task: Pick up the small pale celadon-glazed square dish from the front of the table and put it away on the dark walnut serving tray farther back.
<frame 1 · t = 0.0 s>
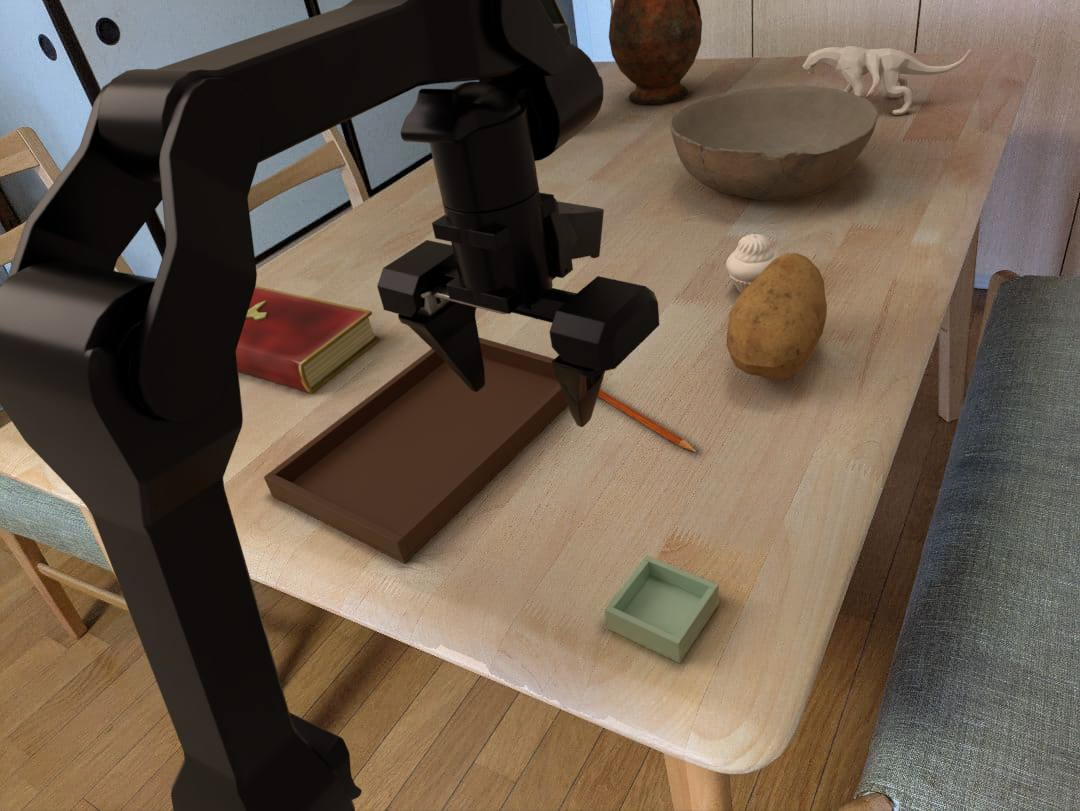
hand: (529, 405, 58), 16 cm above the table, tool pointing down, fingers open, 9 cm apart
bowl: (769, 182, 121), on the table
potato: (775, 361, 85), on the table
pencil: (629, 415, 82), on the table, touching tray
beer bottle: (553, 132, 151), on the table
book: (283, 350, 101), on the table
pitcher: (669, 97, 158), on the table
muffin: (753, 291, 97), on the table
tray: (436, 439, 83), on the table
white dinosaur figurine: (879, 107, 138), on the table
celadon dish: (663, 616, 62), on the table
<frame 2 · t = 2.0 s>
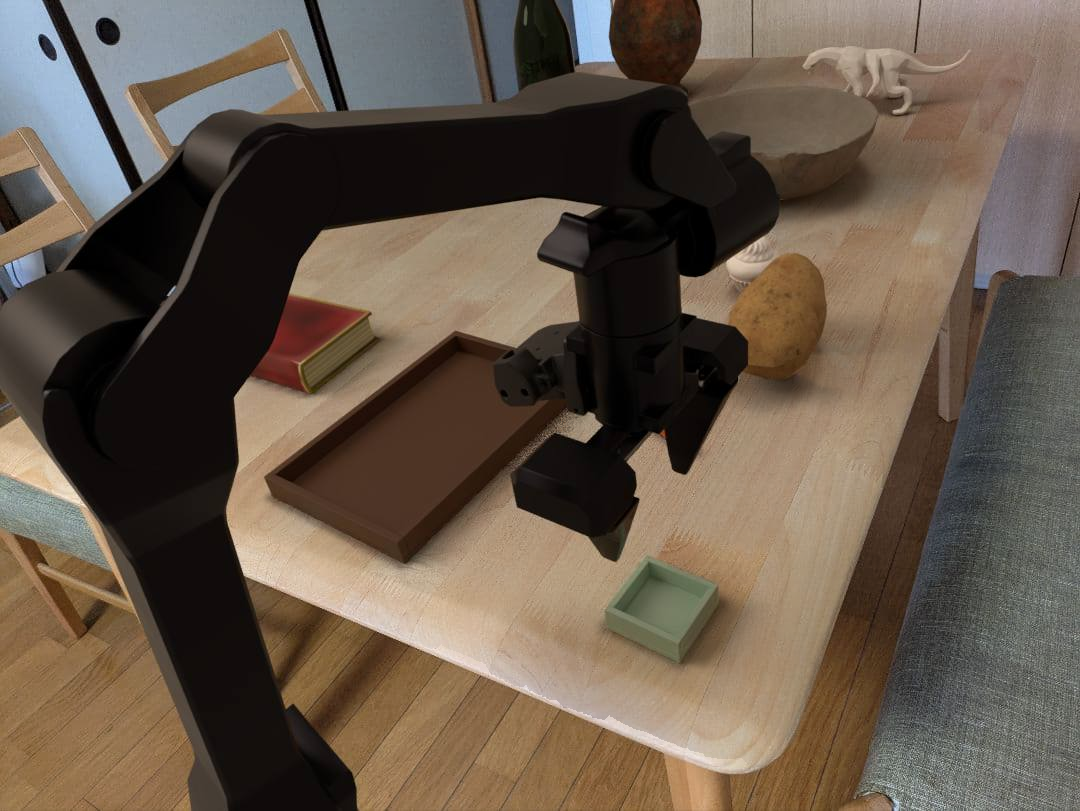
hand: (647, 513, 56), 10 cm above the table, tool pointing down, fingers open, 9 cm apart
pencil: (629, 415, 82), on the table
everything else where it was.
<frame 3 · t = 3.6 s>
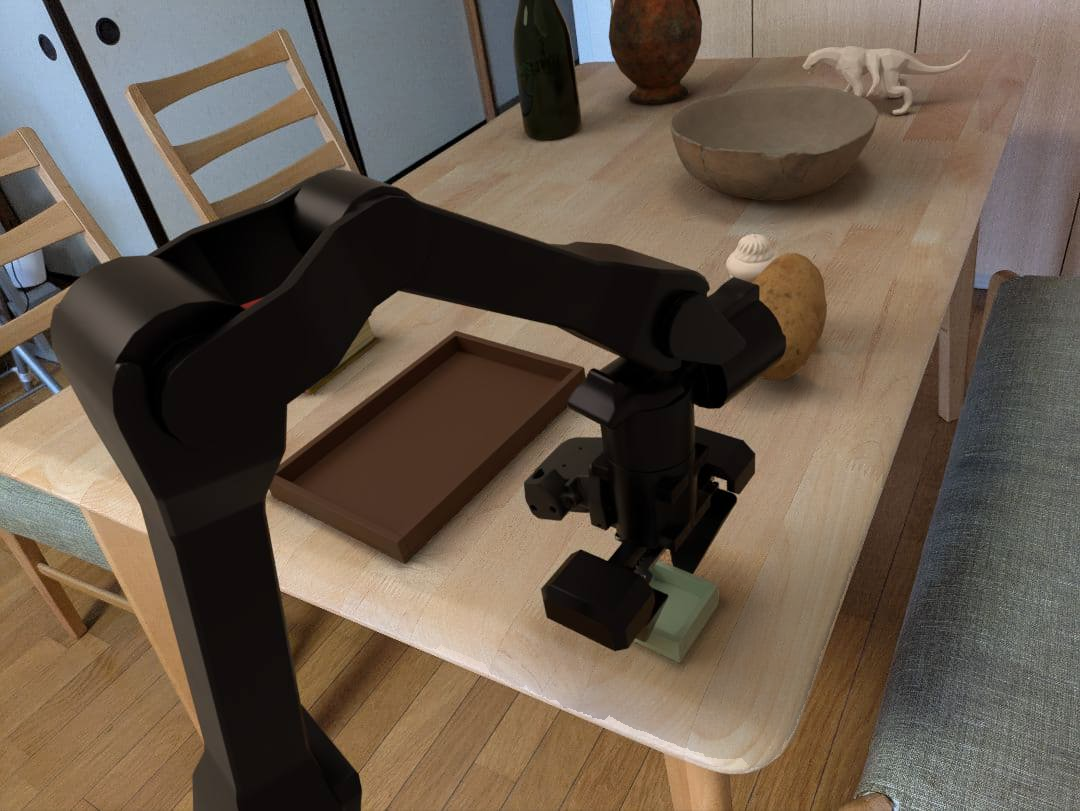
hand: (662, 607, 61), 1 cm above the table, tool pointing down, fingers closed on celadon dish, 6 cm apart
pencil: (629, 415, 82), on the table, touching tray
celadon dish: (663, 616, 62), on the table, touching gripper
everything else where it was.
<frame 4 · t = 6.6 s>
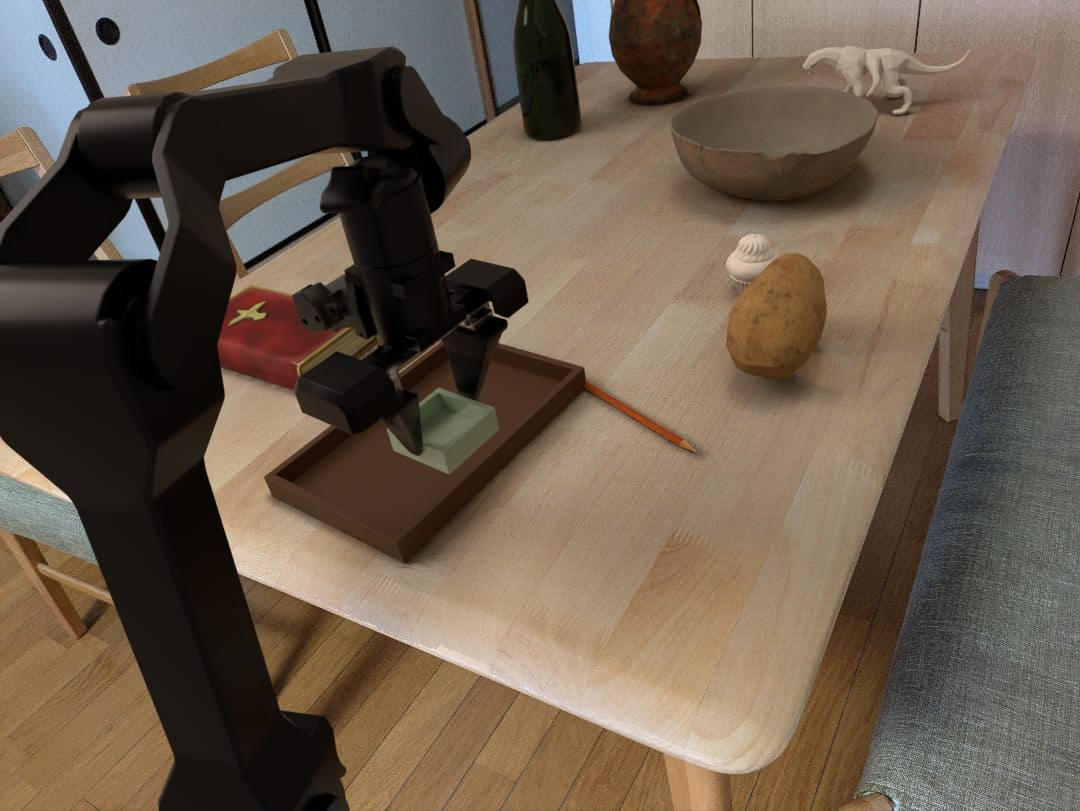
hand: (443, 429, 65), 11 cm above the table, tool pointing down, fingers closed on celadon dish, 6 cm apart
celadon dish: (446, 440, 66), point 10 cm above the table, touching gripper
everything else where it was.
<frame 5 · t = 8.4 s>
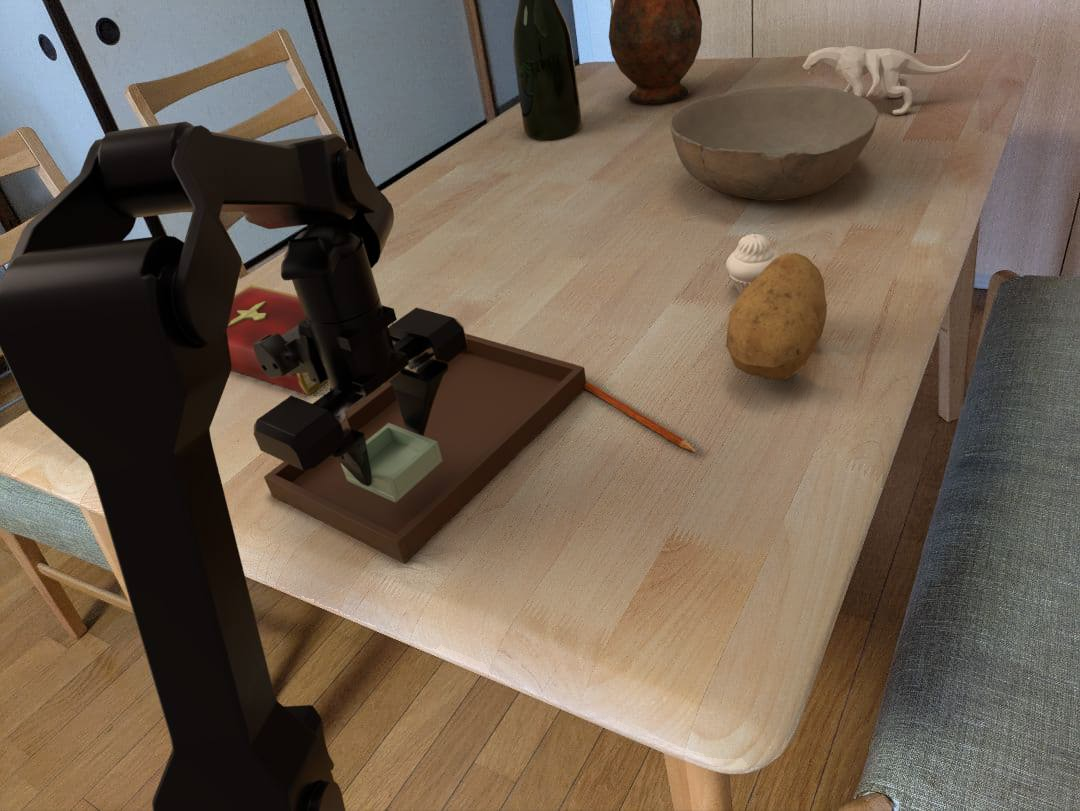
hand: (392, 461, 72), 5 cm above the table, tool pointing down, fingers closed on celadon dish, 6 cm apart
celadon dish: (395, 470, 73), point 4 cm above the table, touching gripper
everything else where it was.
when the fingers open (2 cm above the table, at t = 9.9 s): celadon dish stays where it is, resting on tray.
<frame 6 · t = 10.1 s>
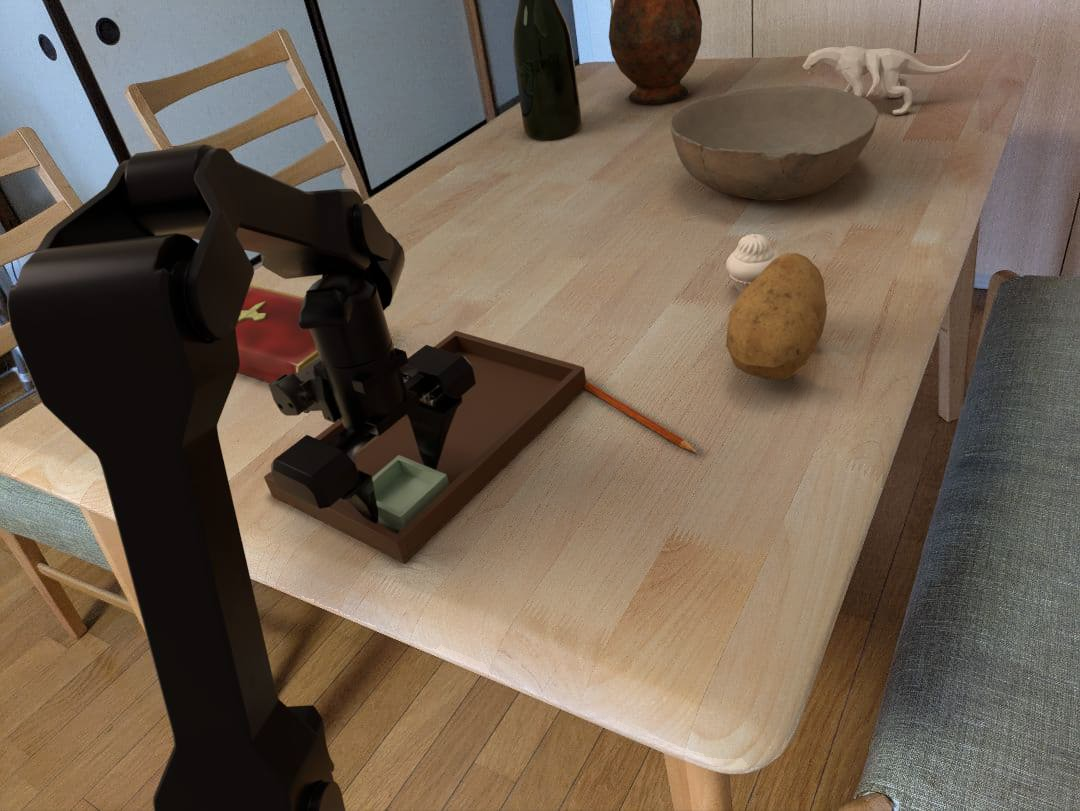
hand: (402, 494, 75), 1 cm above the table, tool pointing down, fingers open, 7 cm apart
pencil: (630, 416, 82), on the table
celadon dish: (405, 502, 75), resting on tray
everything else where it was.
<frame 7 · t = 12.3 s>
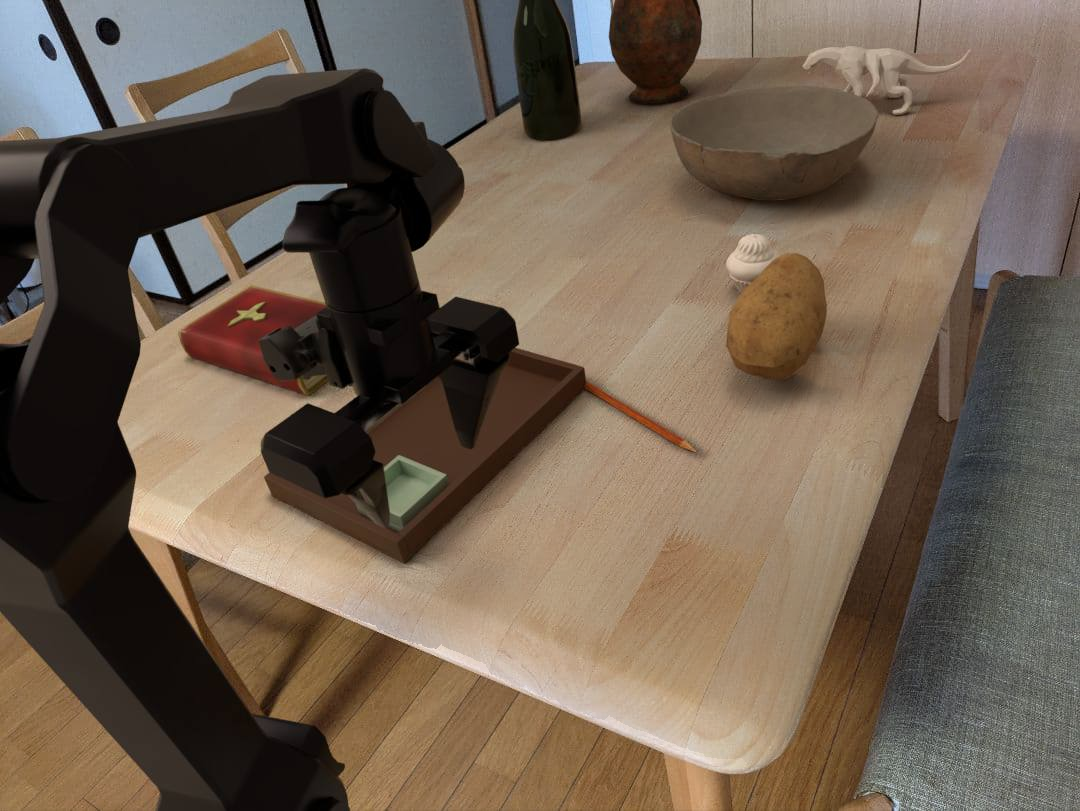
hand: (427, 483, 59), 12 cm above the table, tool pointing down, fingers open, 9 cm apart
nothing on the table moved.
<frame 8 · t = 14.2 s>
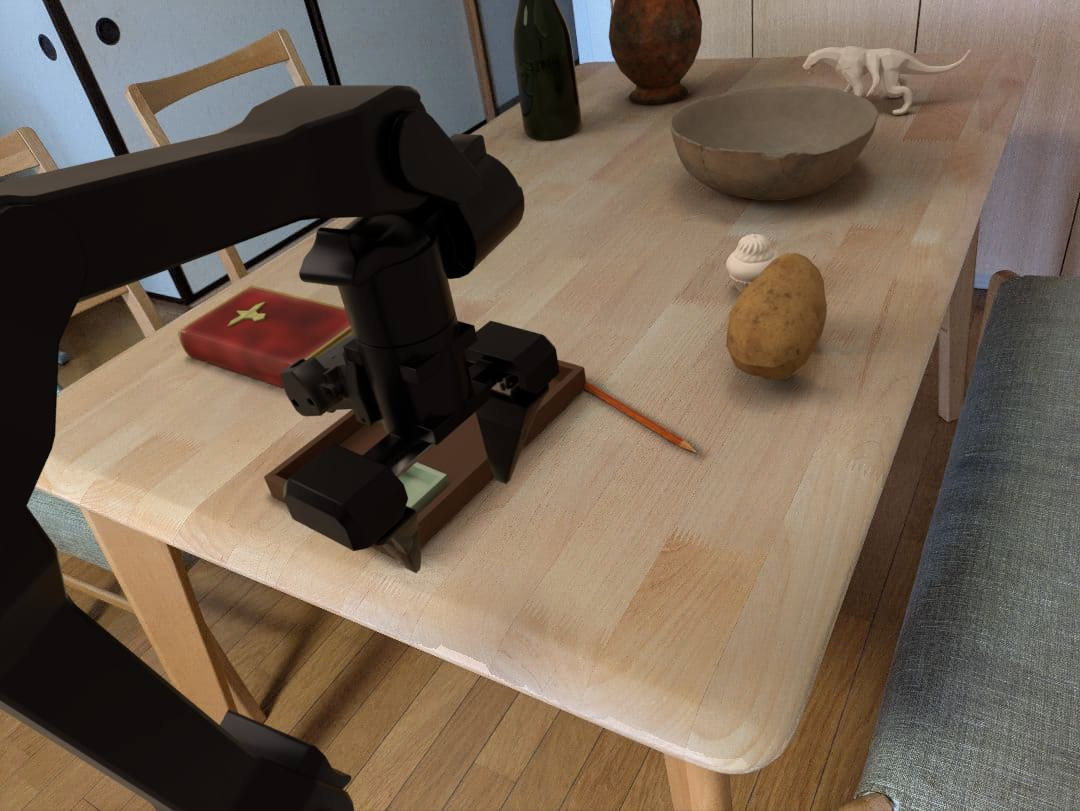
hand: (459, 522, 55), 12 cm above the table, tool pointing down, fingers open, 9 cm apart
pencil: (630, 416, 82), on the table, touching tray
everything else where it was.
at the end: celadon dish inside the target area in the tray (9.5 cm from its centre), point 0.5 cm above the tray's base; celadon dish tilted 0° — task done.
